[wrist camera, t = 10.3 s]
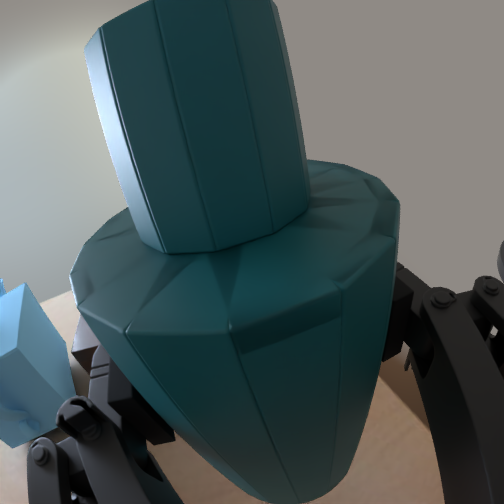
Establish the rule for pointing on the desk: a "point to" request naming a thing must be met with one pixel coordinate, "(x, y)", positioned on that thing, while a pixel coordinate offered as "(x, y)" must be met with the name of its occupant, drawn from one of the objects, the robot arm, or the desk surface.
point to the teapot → (30, 368)
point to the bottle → (235, 249)
